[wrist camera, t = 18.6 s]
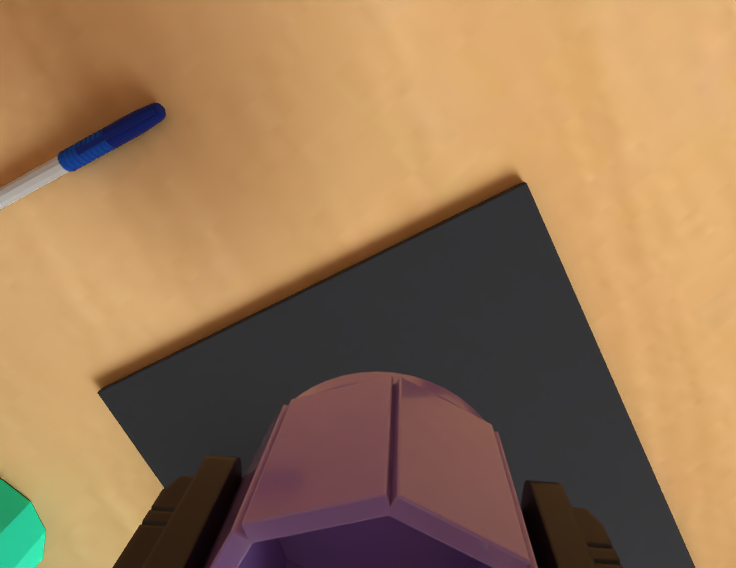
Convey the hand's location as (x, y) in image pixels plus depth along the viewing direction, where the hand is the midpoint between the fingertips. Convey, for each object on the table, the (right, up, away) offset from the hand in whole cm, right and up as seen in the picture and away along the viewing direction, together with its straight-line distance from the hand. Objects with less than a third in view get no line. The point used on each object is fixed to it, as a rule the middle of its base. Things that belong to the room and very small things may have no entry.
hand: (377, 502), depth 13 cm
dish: (0, 0, +1) cm, 1 cm away
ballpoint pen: (-12, +9, +7) cm, 16 cm away
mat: (+4, -7, +11) cm, 14 cm away
